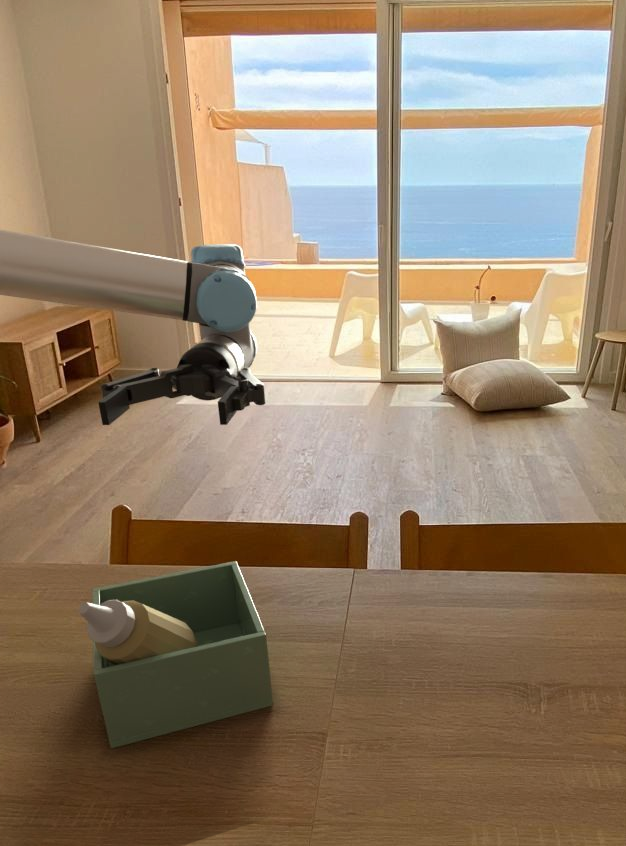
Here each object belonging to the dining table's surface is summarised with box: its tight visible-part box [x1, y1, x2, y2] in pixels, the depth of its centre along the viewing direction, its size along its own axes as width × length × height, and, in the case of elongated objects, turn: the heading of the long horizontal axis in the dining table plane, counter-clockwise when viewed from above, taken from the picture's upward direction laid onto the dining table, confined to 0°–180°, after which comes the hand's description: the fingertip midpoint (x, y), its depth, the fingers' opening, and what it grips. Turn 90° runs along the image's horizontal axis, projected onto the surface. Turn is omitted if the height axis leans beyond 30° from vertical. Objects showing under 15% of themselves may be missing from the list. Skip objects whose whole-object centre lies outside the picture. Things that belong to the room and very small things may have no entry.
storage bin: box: [91, 560, 274, 749], centre depth 82 cm, size 18×18×10 cm
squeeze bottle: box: [77, 600, 199, 665], centre depth 75 cm, size 8×8×18 cm
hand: (162, 413), depth 79 cm, fingers open, 13 cm apart
